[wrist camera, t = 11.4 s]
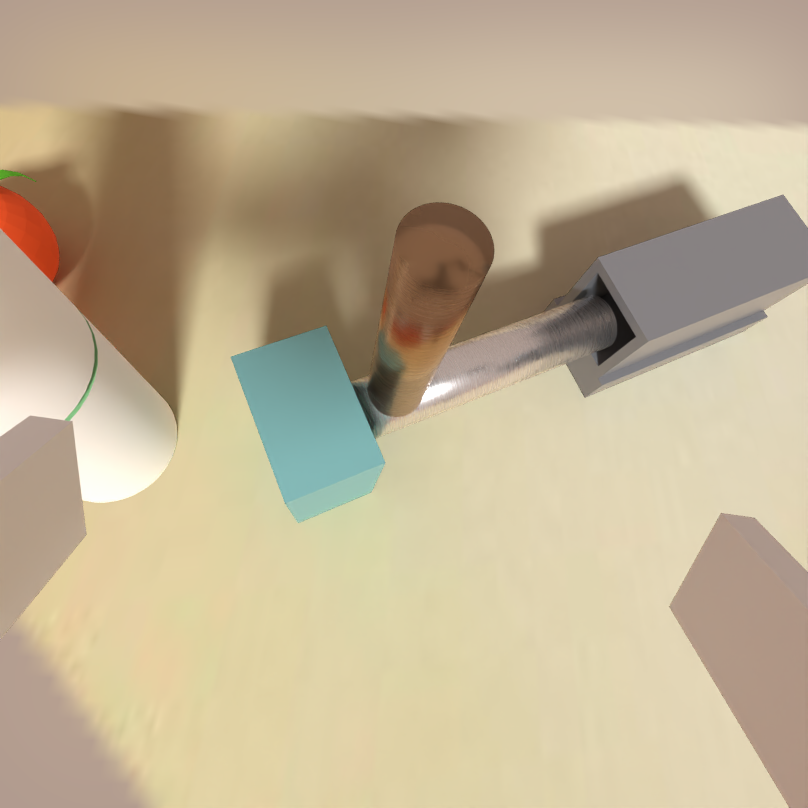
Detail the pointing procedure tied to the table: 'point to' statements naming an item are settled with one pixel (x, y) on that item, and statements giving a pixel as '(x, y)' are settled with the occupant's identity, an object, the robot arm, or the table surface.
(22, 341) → the cylindrical container
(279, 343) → the end socket
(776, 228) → the outer sleeve
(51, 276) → the clementine
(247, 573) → the table surface
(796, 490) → the table surface
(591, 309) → the sliding bolt
